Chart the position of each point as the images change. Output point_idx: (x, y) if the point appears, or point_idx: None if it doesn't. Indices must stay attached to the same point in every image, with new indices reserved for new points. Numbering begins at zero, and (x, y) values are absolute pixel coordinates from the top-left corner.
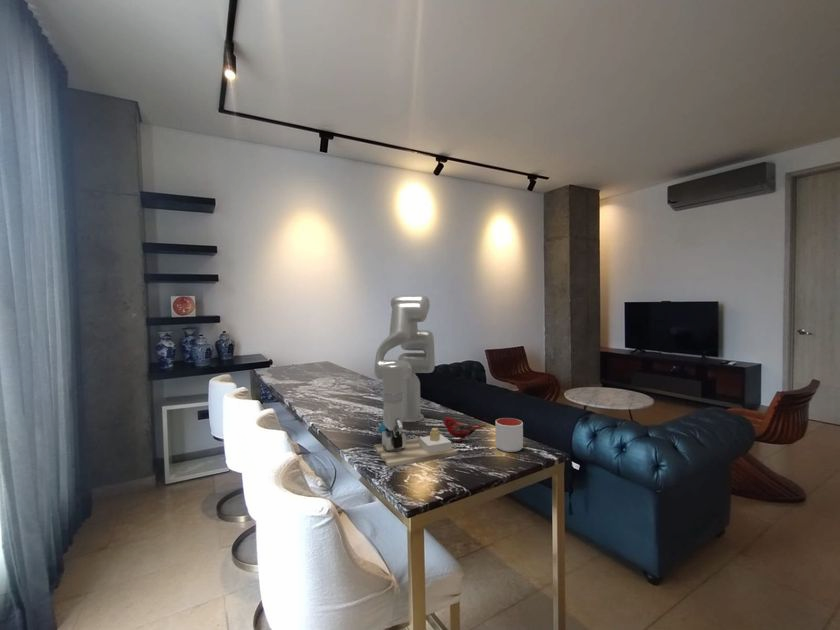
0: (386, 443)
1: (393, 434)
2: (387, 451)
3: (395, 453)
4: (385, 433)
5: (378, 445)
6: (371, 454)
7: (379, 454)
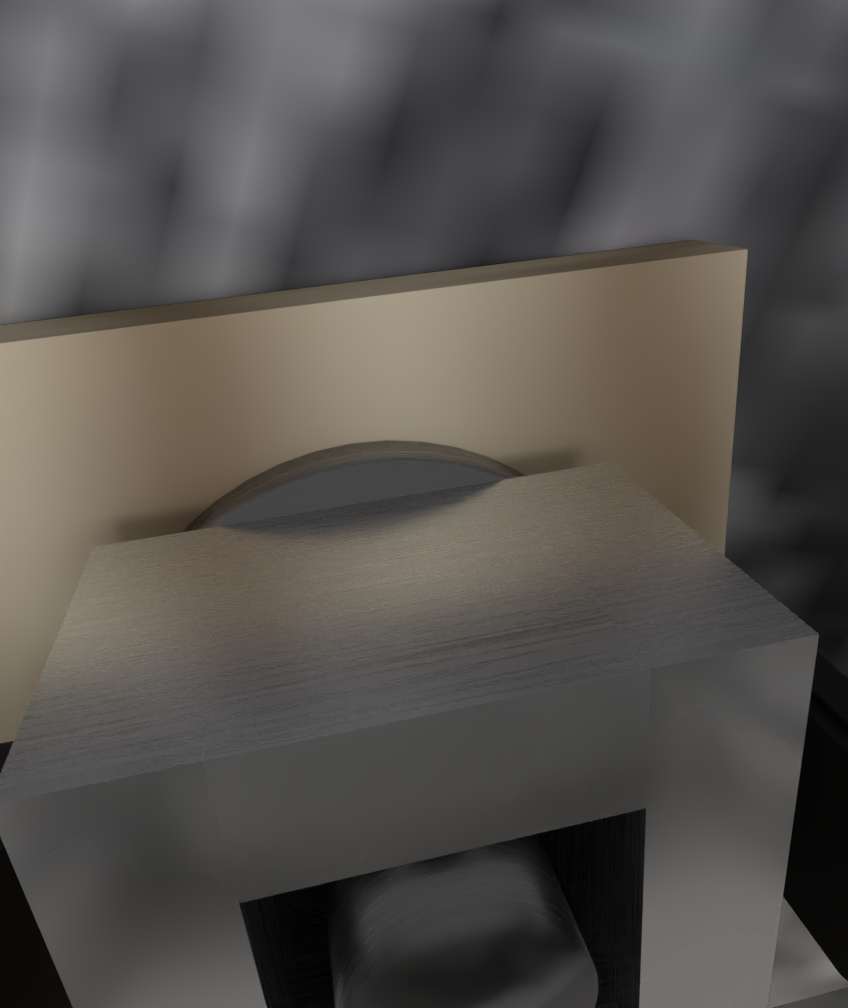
0: (180, 607)
1: (335, 990)
2: (195, 522)
3: (26, 680)
4: (553, 749)
5: (664, 359)
6: (384, 112)
7: (206, 306)
